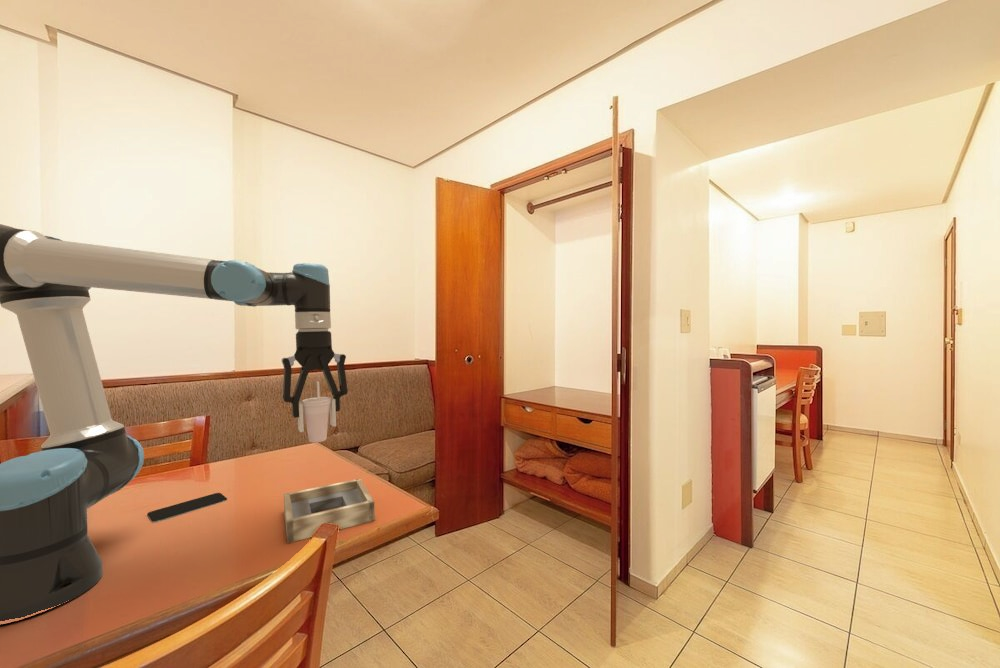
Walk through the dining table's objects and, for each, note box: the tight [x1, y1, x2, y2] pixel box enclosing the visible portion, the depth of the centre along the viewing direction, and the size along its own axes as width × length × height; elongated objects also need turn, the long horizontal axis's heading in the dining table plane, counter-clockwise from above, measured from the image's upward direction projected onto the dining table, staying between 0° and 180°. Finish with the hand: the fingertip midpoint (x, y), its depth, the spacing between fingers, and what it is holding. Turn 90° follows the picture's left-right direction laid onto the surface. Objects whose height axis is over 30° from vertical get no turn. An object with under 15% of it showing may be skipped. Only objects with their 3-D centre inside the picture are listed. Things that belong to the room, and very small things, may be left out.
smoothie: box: [300, 380, 332, 443], centre depth 90 cm, size 6×6×14 cm
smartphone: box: [146, 492, 228, 523], centre depth 97 cm, size 7×1×15 cm
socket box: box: [283, 478, 375, 544], centre depth 92 cm, size 18×16×4 cm
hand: (317, 427), depth 90 cm, fingers closed on smoothie, 6 cm apart
